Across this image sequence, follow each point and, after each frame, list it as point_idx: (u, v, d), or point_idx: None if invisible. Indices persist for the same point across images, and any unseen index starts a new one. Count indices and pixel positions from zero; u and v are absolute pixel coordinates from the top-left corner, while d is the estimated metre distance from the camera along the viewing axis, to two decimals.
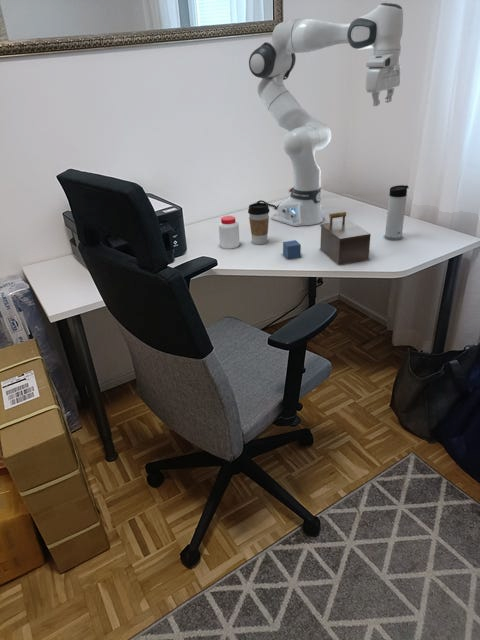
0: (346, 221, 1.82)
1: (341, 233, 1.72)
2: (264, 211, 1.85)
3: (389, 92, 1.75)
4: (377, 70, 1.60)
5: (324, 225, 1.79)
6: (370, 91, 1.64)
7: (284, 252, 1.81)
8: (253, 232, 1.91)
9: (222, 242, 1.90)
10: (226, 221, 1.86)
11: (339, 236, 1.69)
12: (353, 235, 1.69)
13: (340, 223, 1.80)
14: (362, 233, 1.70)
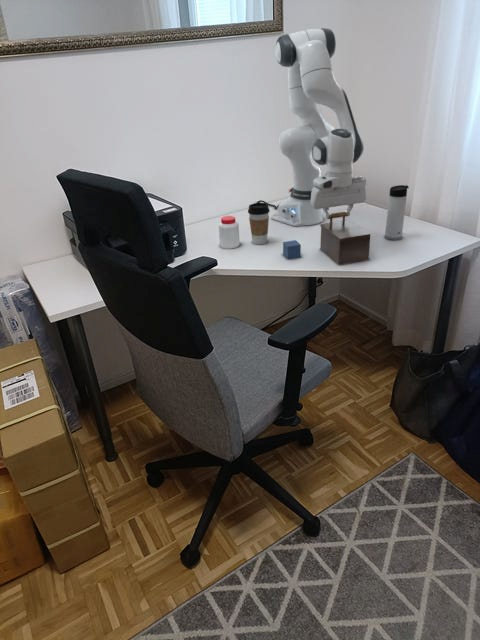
0: (346, 221, 1.82)
1: (341, 233, 1.72)
2: (264, 211, 1.85)
3: (349, 207, 1.79)
4: (317, 190, 1.70)
5: (324, 225, 1.79)
6: (312, 207, 1.74)
7: (284, 252, 1.81)
8: (253, 232, 1.91)
9: (222, 242, 1.90)
10: (226, 221, 1.86)
11: (339, 236, 1.69)
12: (353, 235, 1.69)
13: (340, 223, 1.80)
14: (362, 233, 1.70)
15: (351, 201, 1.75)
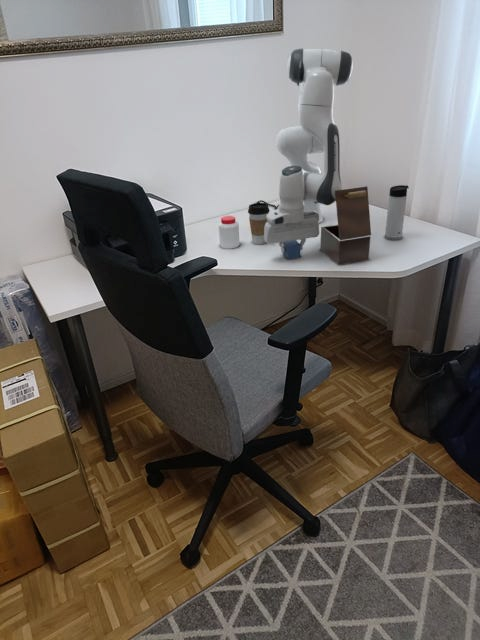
0: (363, 191, 1.66)
1: (346, 225, 1.66)
2: (264, 211, 1.85)
3: (301, 241, 1.79)
4: (269, 226, 1.71)
5: (338, 196, 1.64)
6: (266, 241, 1.75)
7: None
8: (253, 232, 1.91)
9: (222, 242, 1.90)
10: (226, 221, 1.86)
11: (342, 233, 1.67)
12: (355, 234, 1.68)
13: None
14: (364, 231, 1.69)
15: (304, 236, 1.76)
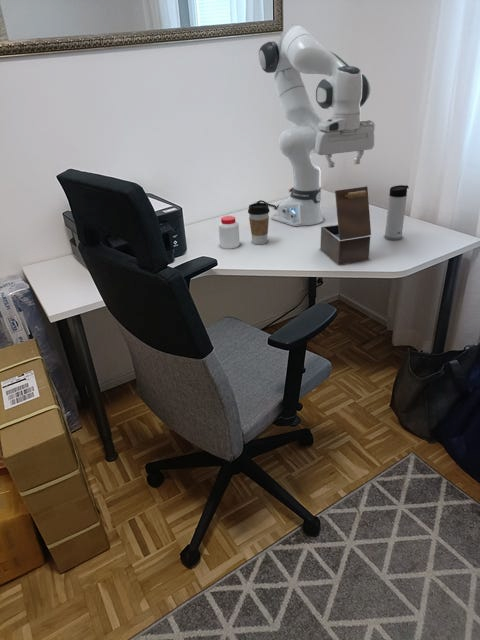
0: (363, 191, 1.66)
1: (346, 225, 1.66)
2: (264, 211, 1.85)
3: (359, 154, 1.67)
4: (322, 134, 1.58)
5: (338, 196, 1.64)
6: (317, 153, 1.62)
7: None
8: (253, 232, 1.91)
9: (222, 242, 1.90)
10: (226, 221, 1.86)
11: (342, 233, 1.67)
12: (355, 234, 1.68)
13: None
14: (364, 231, 1.69)
15: (359, 147, 1.63)
